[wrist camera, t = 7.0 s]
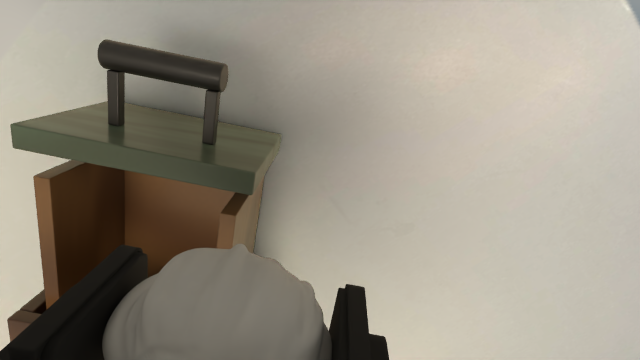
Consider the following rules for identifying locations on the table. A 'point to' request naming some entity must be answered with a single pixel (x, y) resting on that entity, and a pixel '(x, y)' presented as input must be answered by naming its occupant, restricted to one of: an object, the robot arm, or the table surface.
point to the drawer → (143, 172)
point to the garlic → (218, 312)
